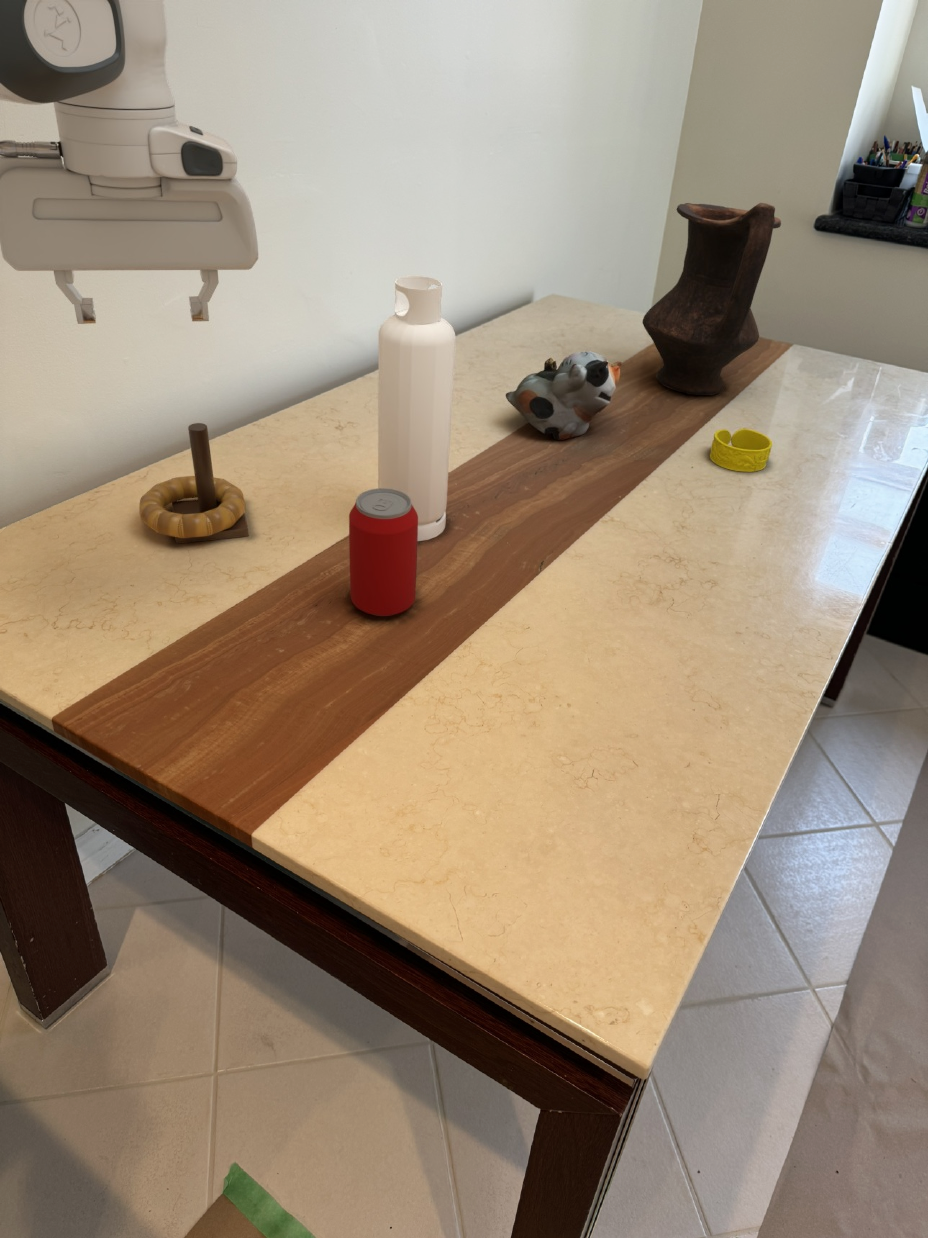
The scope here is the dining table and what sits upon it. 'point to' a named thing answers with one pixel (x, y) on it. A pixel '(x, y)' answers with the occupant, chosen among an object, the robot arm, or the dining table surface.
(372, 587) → the beverage can
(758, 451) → the bracelet
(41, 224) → the robot arm
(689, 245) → the jug
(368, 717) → the dining table surface
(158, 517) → the ring
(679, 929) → the dining table surface
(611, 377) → the lucky cat figurine
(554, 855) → the dining table surface
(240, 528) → the post
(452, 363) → the bottle
